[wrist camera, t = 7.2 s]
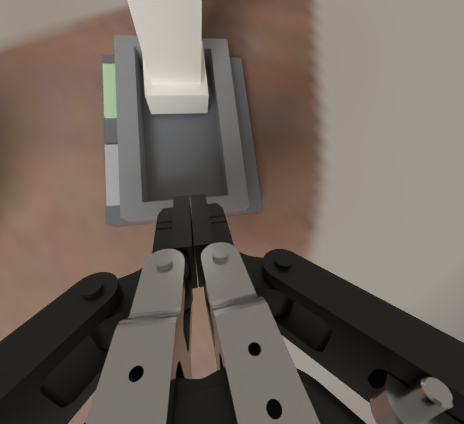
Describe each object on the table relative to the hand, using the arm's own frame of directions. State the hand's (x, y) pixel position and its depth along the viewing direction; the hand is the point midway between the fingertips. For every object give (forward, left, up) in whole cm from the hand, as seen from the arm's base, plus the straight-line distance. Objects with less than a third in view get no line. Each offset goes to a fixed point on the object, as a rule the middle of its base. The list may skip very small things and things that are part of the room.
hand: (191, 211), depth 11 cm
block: (0, +9, -3) cm, 10 cm away
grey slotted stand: (0, +6, -5) cm, 8 cm away
